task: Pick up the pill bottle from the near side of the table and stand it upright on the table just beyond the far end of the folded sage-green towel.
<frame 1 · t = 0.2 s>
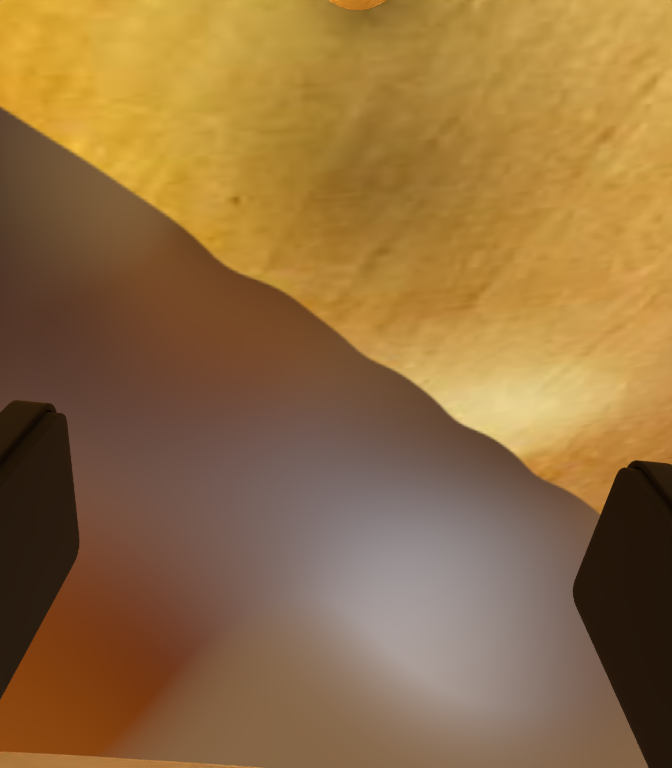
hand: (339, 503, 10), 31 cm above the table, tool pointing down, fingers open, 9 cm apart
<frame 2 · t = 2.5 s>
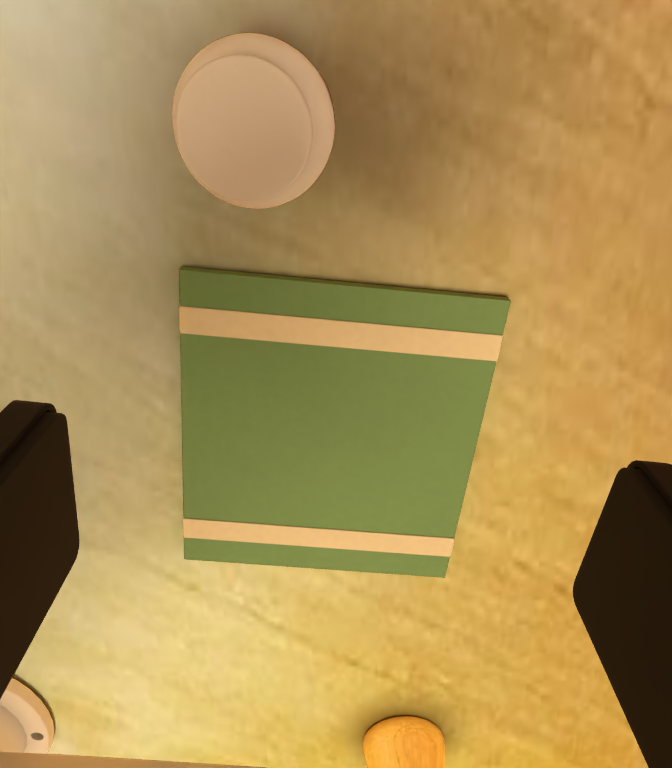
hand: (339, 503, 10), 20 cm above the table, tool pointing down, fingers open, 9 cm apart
pill bottle: (272, 116, 26), on the table
towel: (329, 438, 33), on the table
beer glass: (402, 738, 45), on the table
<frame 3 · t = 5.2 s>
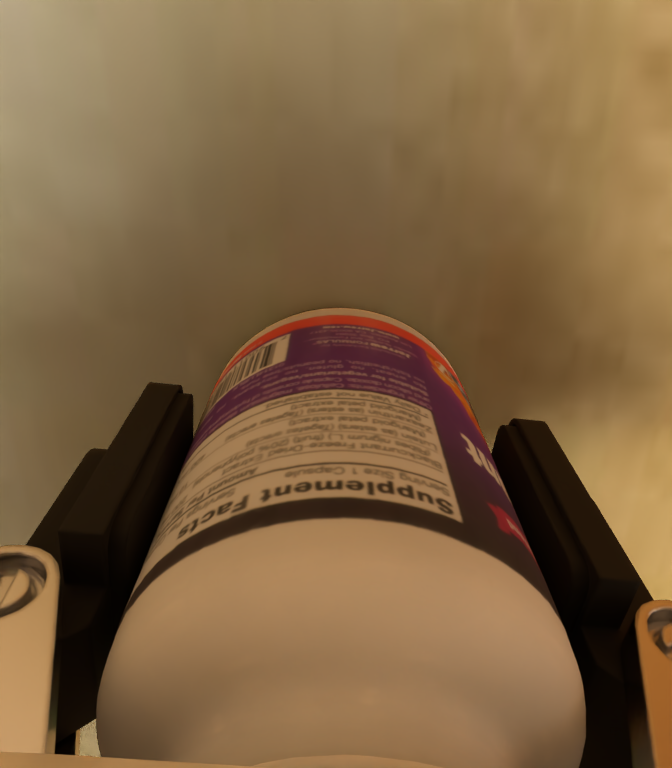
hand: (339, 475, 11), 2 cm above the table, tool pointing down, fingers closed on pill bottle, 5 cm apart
pill bottle: (339, 415, 13), on the table, touching gripper
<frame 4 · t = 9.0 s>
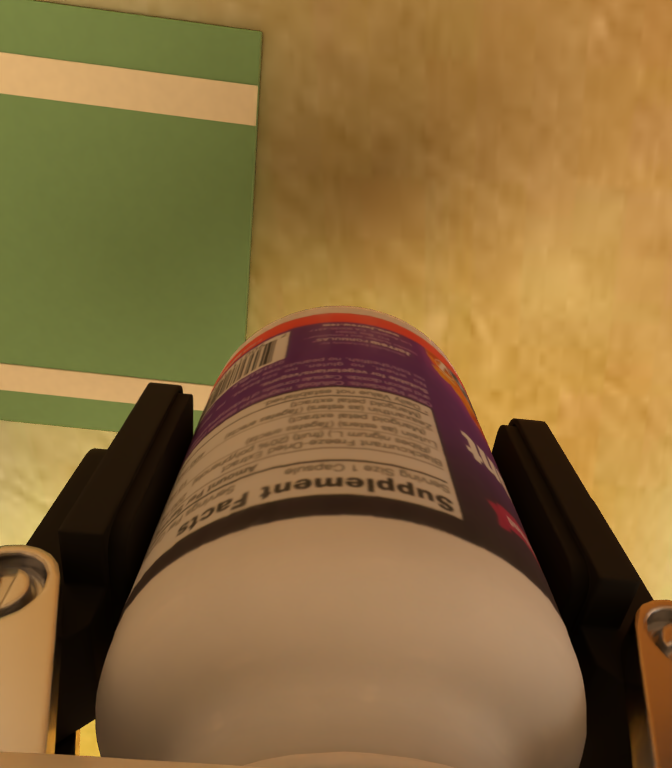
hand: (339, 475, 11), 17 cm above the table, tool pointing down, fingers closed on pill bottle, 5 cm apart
pill bottle: (339, 413, 13), point 15 cm above the table, touching gripper
towel: (65, 245, 26), on the table
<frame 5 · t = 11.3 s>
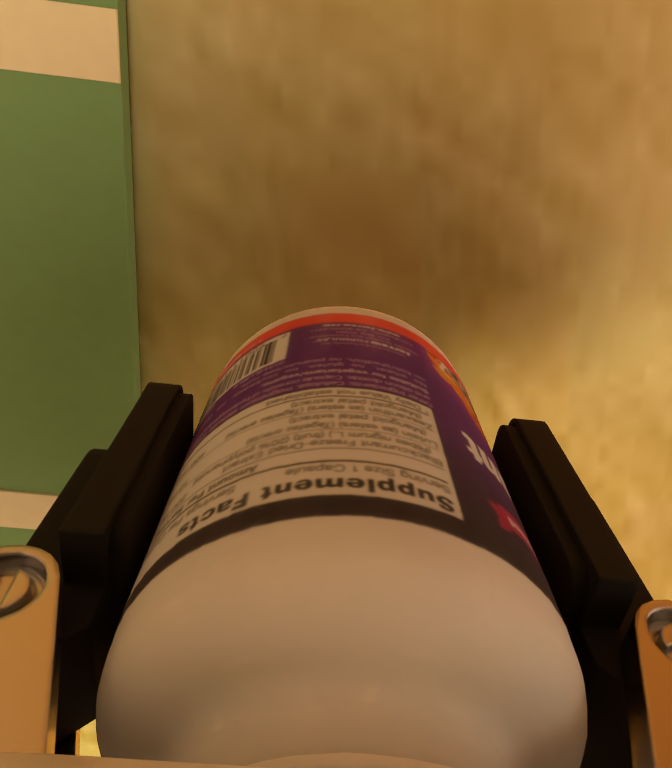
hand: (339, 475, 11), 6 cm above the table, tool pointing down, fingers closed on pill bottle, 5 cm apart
pill bottle: (339, 414, 13), point 4 cm above the table, touching gripper
when the fingers open (2 cm above the table, at t = 12.9 s): pill bottle stays where it is, on the table.
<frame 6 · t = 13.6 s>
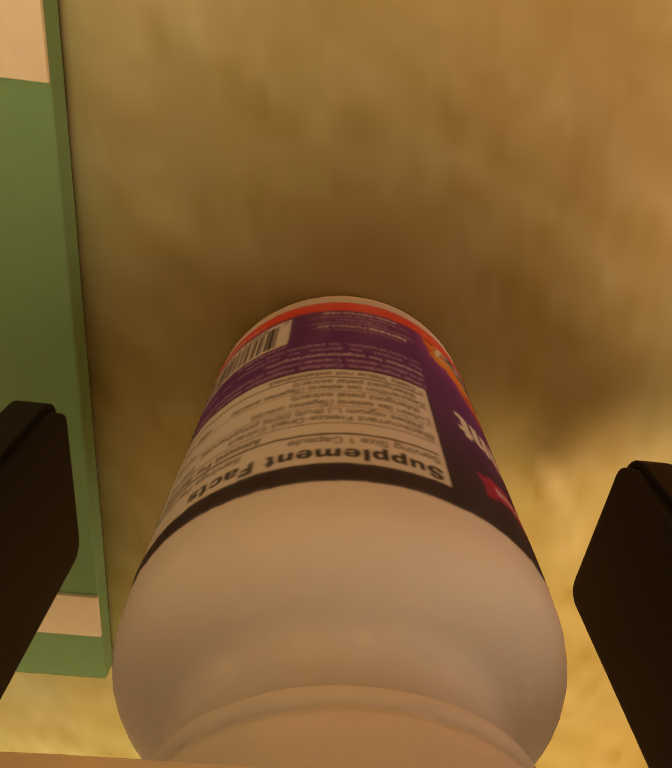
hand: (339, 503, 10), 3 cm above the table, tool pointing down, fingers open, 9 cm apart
pill bottle: (339, 400, 13), on the table
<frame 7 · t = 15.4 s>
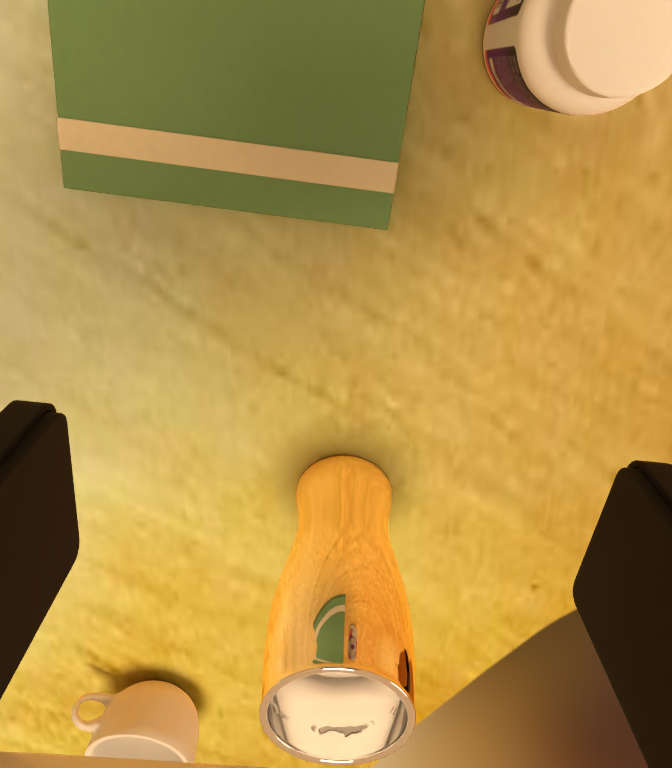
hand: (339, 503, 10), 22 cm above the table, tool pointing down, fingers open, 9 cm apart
pill bottle: (541, 38, 27), on the table
teacup: (148, 690, 48), on the table
beer glass: (344, 492, 38), on the table
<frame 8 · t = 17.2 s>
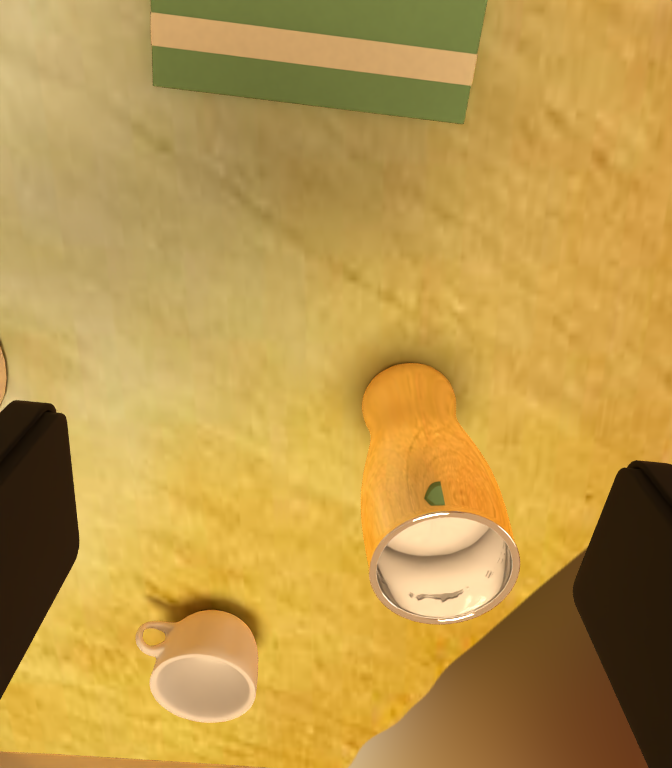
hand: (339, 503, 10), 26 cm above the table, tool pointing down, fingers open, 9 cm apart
teacup: (205, 622, 49), on the table
beer glass: (407, 402, 40), on the table
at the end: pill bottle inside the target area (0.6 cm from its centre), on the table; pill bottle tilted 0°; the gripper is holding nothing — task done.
